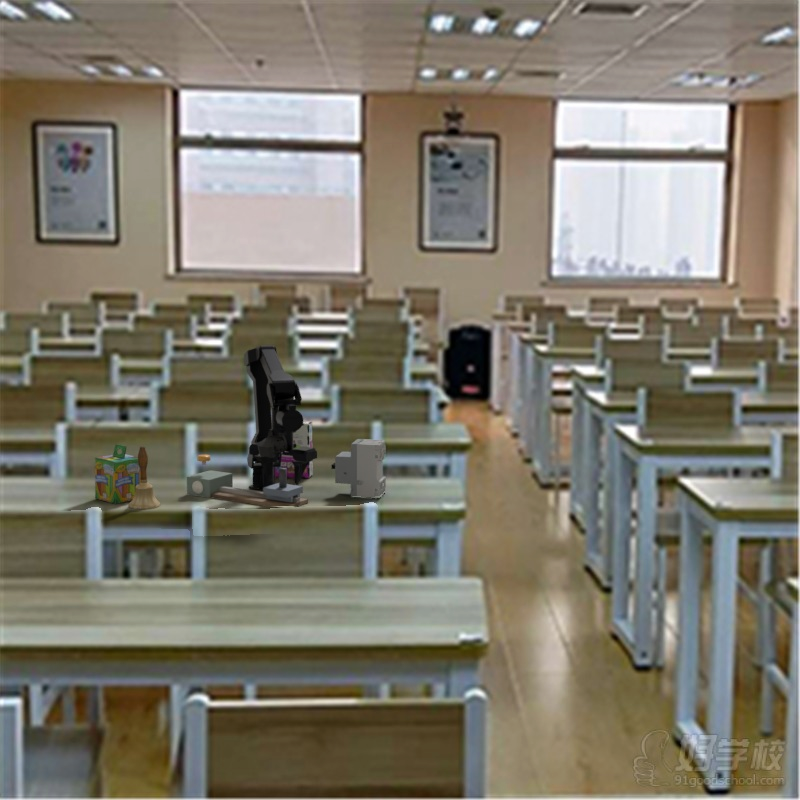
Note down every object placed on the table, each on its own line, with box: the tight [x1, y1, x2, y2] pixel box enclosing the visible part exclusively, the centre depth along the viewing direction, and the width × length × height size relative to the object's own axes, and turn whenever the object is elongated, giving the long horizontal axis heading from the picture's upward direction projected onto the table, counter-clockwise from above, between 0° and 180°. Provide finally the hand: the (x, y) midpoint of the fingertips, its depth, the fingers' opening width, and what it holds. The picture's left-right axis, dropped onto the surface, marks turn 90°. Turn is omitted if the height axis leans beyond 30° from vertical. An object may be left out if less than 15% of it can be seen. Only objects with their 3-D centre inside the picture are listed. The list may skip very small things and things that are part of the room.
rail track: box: [211, 486, 309, 507], centre depth 317 cm, size 9×26×2 cm, turn 60°
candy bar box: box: [275, 420, 314, 479], centre depth 347 cm, size 11×5×16 cm, turn 82°
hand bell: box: [128, 446, 161, 510], centre depth 309 cm, size 8×8×16 cm
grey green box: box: [186, 469, 234, 499], centre depth 325 cm, size 10×8×5 cm
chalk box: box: [94, 443, 141, 505], centre depth 317 cm, size 9×9×15 cm
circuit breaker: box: [330, 438, 387, 498], centre depth 324 cm, size 8×14×15 cm, turn 78°
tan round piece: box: [196, 454, 211, 466], centre depth 326 cm, size 4×4×2 cm
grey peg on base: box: [262, 468, 304, 502], centre depth 313 cm, size 7×8×8 cm
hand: (282, 482), depth 313 cm, fingers open, 9 cm apart
